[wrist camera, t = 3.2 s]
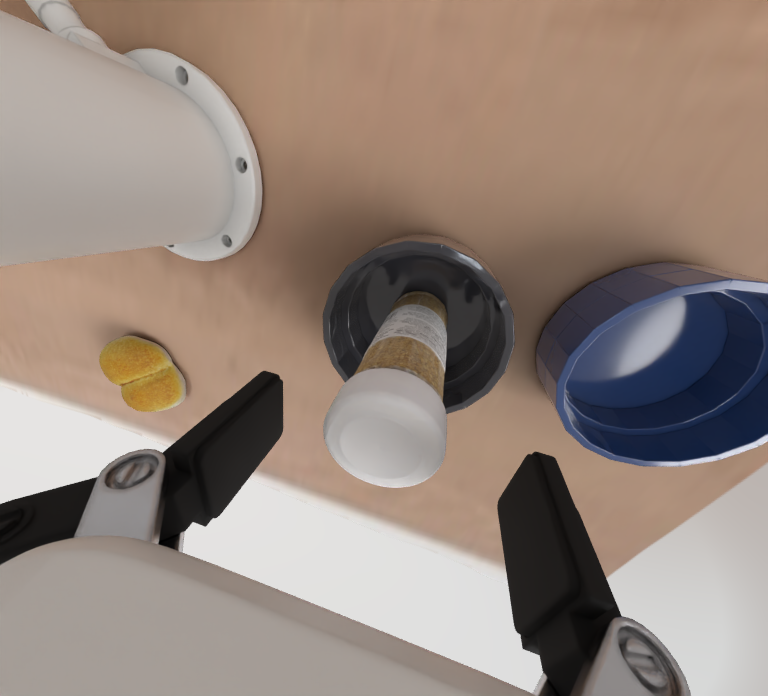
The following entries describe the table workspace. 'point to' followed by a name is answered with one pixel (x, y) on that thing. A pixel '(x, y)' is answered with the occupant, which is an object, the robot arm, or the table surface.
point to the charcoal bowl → (446, 282)
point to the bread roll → (143, 374)
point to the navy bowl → (661, 364)
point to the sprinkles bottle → (395, 399)
